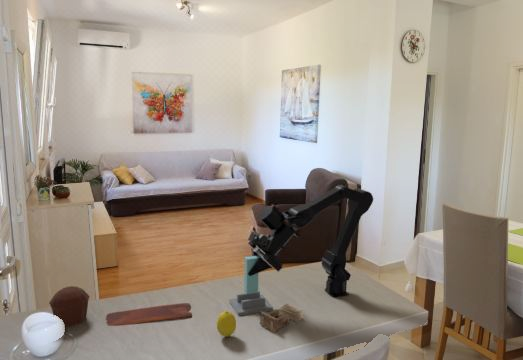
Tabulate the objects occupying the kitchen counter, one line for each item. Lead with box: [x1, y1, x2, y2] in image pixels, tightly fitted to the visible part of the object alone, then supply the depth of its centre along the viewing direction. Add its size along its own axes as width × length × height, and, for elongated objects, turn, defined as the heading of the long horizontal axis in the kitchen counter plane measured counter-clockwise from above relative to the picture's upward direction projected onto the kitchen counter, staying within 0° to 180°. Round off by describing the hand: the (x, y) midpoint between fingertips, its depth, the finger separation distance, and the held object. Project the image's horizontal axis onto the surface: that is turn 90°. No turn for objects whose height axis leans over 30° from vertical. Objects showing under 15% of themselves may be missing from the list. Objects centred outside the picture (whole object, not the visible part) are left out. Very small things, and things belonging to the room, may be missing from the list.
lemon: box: [216, 310, 237, 338], centre depth 122 cm, size 6×6×8 cm
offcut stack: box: [277, 303, 304, 322], centre depth 135 cm, size 3×8×3 cm, turn 49°
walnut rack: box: [259, 308, 290, 333], centre depth 129 cm, size 7×6×4 cm
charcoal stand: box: [229, 290, 274, 316], centre depth 141 cm, size 12×10×4 cm
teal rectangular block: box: [243, 255, 259, 294], centre depth 140 cm, size 4×2×12 cm, turn 110°
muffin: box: [48, 285, 90, 328], centre depth 130 cm, size 12×11×10 cm
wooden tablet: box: [105, 302, 193, 327], centre depth 134 cm, size 27×10×2 cm, turn 106°
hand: (247, 273), depth 139 cm, fingers closed on teal rectangular block, 2 cm apart
